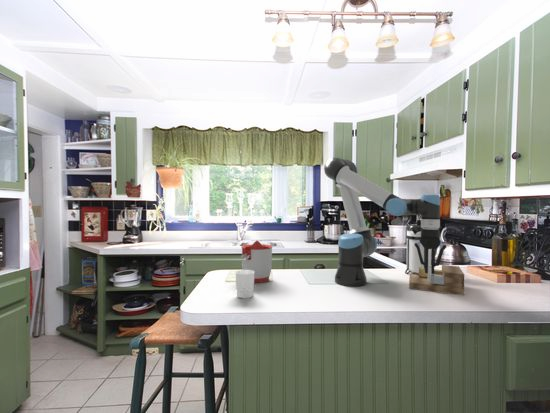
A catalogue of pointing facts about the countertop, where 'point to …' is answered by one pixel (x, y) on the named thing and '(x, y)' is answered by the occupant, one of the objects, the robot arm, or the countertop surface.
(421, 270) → the brass plug
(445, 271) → the socket block
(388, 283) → the countertop surface
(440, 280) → the grey steel plug
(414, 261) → the coffee press
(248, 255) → the citrus juicer
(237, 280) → the white cup
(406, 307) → the countertop surface
